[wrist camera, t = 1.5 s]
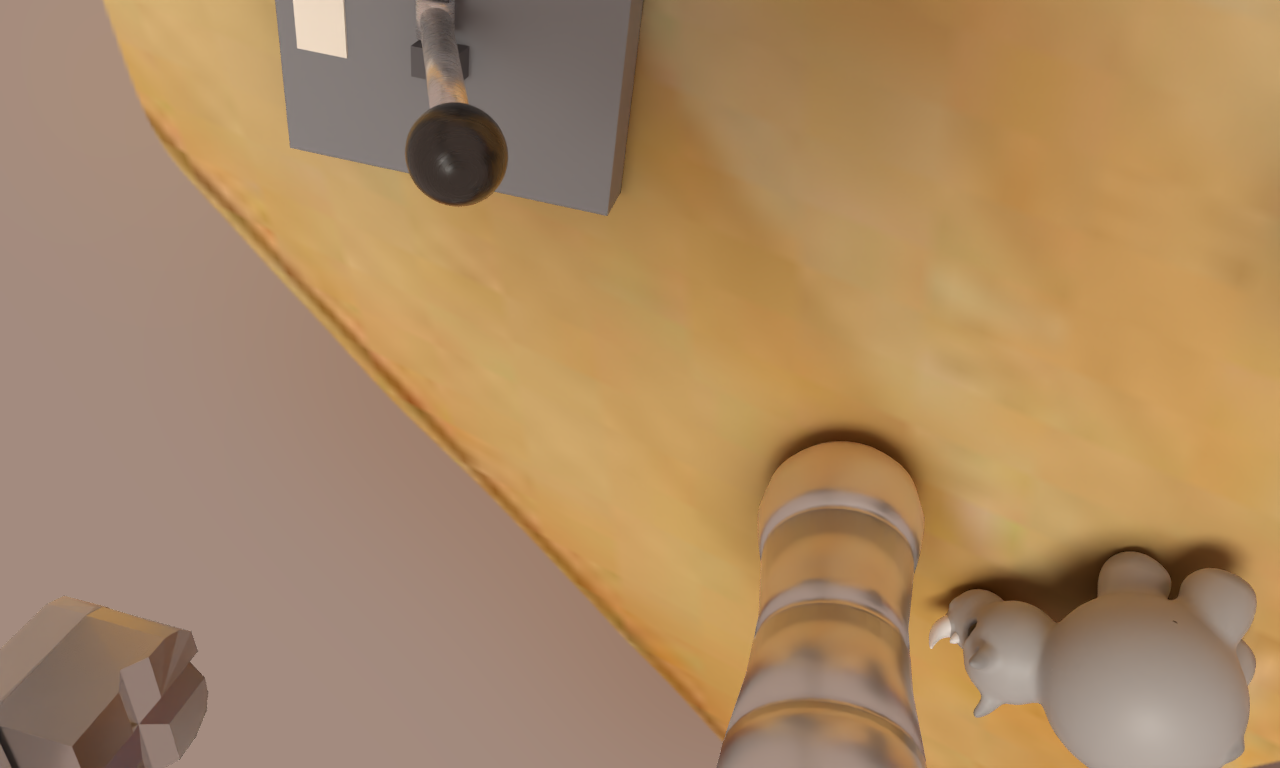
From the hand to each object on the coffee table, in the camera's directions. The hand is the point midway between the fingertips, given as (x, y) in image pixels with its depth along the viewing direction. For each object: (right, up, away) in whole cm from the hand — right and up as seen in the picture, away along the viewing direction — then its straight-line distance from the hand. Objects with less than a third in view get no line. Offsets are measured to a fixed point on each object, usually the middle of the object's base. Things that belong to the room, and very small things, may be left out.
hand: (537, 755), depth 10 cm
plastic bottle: (+10, 0, +31) cm, 33 cm away
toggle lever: (-5, +16, +20) cm, 26 cm away
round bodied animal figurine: (+20, -5, +32) cm, 38 cm away
